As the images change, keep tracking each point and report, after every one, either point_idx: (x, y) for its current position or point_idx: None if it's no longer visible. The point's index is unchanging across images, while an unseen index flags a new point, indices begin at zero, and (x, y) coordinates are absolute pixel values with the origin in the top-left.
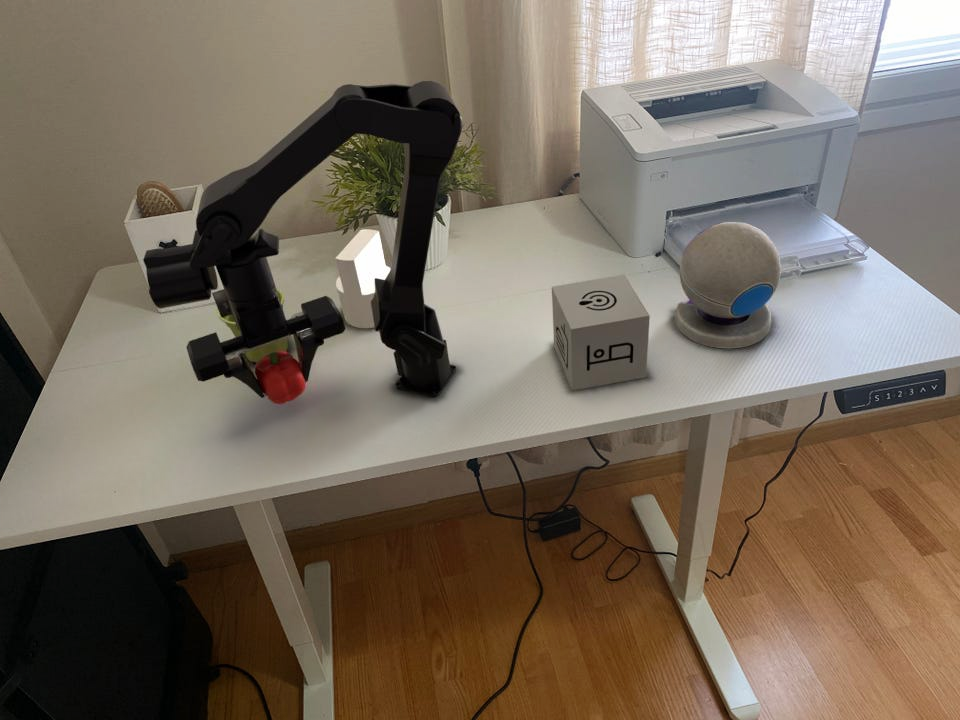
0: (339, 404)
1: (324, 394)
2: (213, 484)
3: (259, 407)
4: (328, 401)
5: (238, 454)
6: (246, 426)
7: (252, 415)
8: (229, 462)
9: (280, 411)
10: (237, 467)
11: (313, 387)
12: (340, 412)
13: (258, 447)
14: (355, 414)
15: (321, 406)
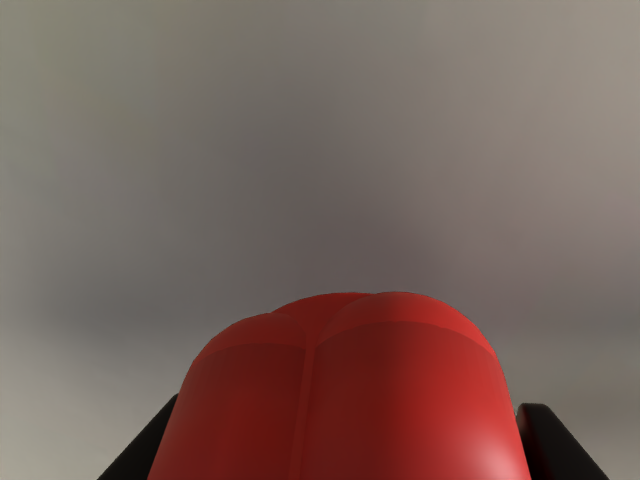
0: (595, 382)
1: (575, 288)
2: (24, 473)
3: (179, 204)
4: (561, 342)
5: (94, 415)
6: (112, 302)
7: (139, 246)
8: (63, 430)
9: (297, 290)
10: (98, 456)
11: (554, 199)
12: (565, 420)
13: None
14: (613, 453)
15: (509, 354)
